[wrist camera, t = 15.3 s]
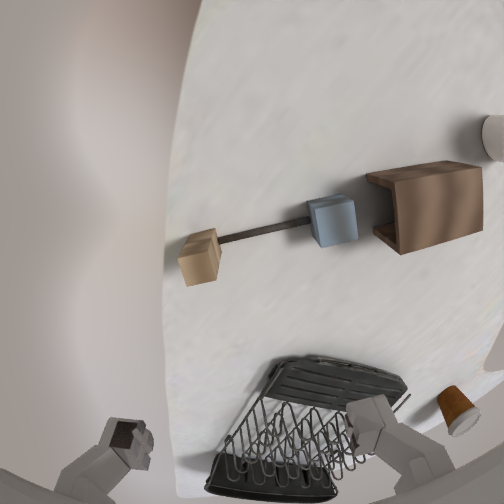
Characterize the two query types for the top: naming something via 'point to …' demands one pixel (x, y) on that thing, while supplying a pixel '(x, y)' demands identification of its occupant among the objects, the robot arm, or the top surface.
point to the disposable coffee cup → (457, 411)
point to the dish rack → (300, 432)
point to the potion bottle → (494, 137)
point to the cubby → (431, 204)
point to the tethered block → (320, 217)
